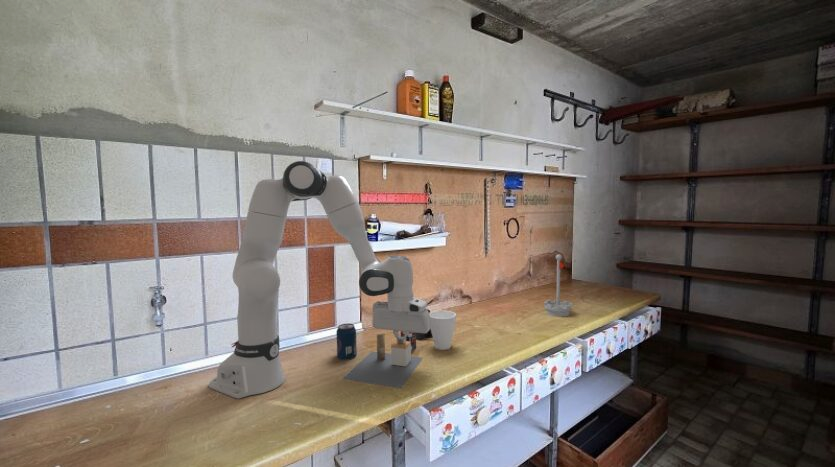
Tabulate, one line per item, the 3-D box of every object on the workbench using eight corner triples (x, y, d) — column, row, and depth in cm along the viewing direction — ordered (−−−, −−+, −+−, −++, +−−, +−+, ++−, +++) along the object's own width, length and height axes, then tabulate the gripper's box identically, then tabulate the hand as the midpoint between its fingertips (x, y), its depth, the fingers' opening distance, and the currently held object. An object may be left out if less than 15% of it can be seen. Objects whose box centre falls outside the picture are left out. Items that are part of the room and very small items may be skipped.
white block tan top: (391, 364, 120) (391, 345, 119) (397, 358, 125) (396, 340, 124) (405, 366, 118) (405, 347, 118) (411, 360, 123) (410, 341, 123)
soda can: (335, 356, 130) (334, 324, 129) (354, 353, 132) (353, 321, 132) (339, 364, 123) (338, 330, 123) (358, 360, 126) (357, 327, 125)
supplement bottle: (414, 354, 131) (414, 324, 130) (398, 353, 132) (398, 323, 131) (417, 347, 137) (417, 319, 136) (402, 346, 138) (402, 318, 137)
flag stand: (539, 310, 184) (540, 253, 182) (563, 309, 186) (564, 252, 184) (551, 317, 171) (552, 256, 169) (577, 316, 173) (578, 255, 171)
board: (341, 382, 111) (341, 378, 111) (371, 354, 132) (371, 351, 131) (401, 391, 104) (401, 388, 104) (423, 360, 125) (423, 357, 125)
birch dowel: (375, 360, 124) (375, 335, 123) (379, 356, 127) (378, 332, 126) (383, 361, 123) (382, 335, 122) (386, 357, 126) (385, 333, 125)
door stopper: (427, 331, 154) (427, 304, 154) (436, 335, 150) (435, 307, 149) (410, 336, 149) (410, 308, 148) (418, 340, 144) (418, 311, 143)
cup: (461, 350, 134) (461, 315, 133) (439, 356, 128) (438, 320, 127) (445, 341, 143) (445, 308, 142) (423, 347, 137) (423, 313, 136)
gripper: (368, 303, 120) (369, 343, 121) (426, 307, 114) (427, 349, 115) (376, 298, 126) (377, 336, 127) (431, 302, 120) (432, 342, 121)
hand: (401, 342), depth 121 cm, fingers closed
